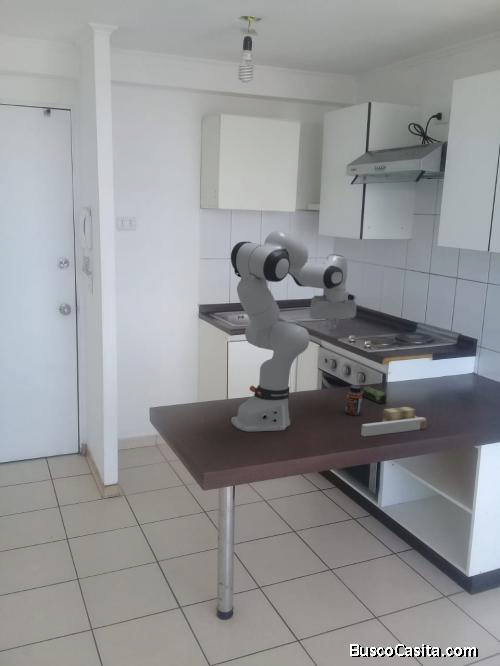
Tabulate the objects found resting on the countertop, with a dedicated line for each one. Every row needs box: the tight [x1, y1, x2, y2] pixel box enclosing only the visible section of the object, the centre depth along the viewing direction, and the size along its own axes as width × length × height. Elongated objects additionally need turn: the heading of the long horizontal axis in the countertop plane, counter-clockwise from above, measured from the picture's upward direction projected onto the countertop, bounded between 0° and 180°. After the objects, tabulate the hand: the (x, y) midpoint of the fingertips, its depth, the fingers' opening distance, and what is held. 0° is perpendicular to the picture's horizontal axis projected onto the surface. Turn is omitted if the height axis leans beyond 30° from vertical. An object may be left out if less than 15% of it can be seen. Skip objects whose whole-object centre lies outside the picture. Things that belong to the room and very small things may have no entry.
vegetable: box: [360, 386, 388, 404], centre depth 266 cm, size 14×5×5 cm, turn 32°
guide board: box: [360, 415, 428, 438], centre depth 231 cm, size 28×12×4 cm, turn 115°
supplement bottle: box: [345, 385, 363, 416], centre depth 245 cm, size 6×6×11 cm
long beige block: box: [381, 406, 416, 422], centre depth 232 cm, size 12×4×7 cm, turn 114°
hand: (331, 329), depth 245 cm, fingers closed
